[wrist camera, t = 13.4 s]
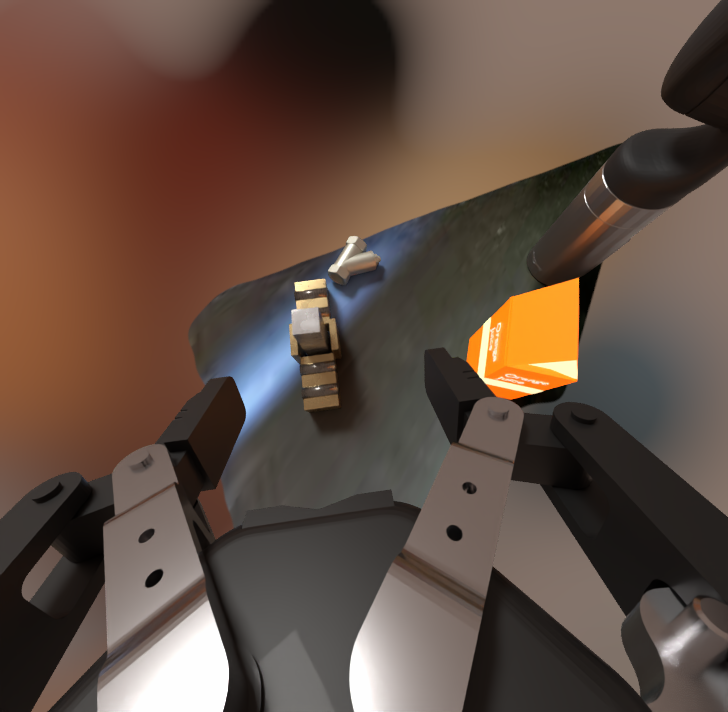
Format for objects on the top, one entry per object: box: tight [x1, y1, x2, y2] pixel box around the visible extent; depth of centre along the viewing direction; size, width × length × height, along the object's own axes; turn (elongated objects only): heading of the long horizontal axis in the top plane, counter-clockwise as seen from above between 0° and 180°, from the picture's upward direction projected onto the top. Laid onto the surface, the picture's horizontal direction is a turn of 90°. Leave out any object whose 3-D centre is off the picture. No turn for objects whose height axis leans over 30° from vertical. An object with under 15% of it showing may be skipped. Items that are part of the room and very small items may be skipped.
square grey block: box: [291, 307, 331, 356], centre depth 41 cm, size 4×4×11 cm
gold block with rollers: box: [289, 279, 342, 412], centre depth 44 cm, size 7×21×5 cm, turn 8°
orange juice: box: [467, 278, 579, 400], centre depth 36 cm, size 8×9×20 cm
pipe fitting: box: [328, 236, 381, 285], centre depth 49 cm, size 8×4×7 cm
